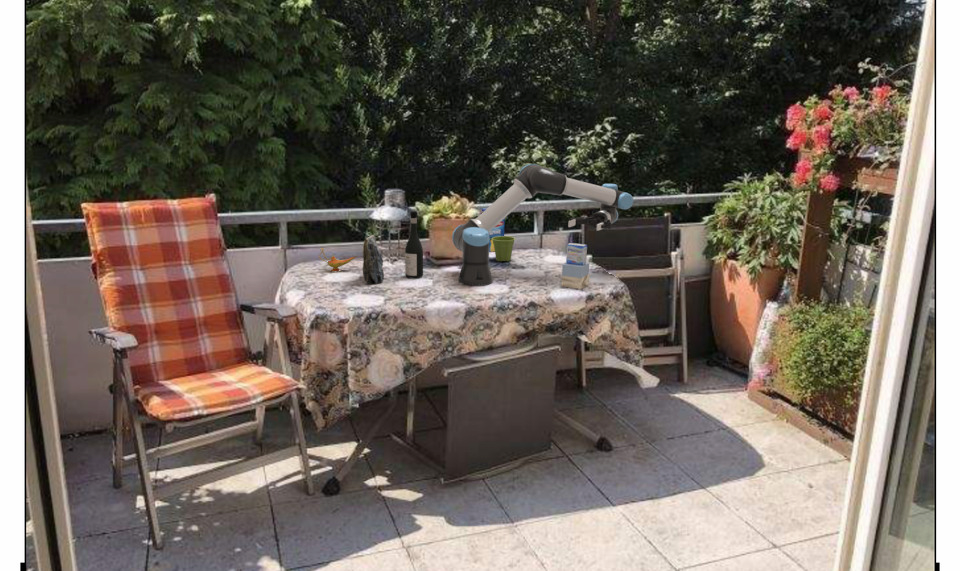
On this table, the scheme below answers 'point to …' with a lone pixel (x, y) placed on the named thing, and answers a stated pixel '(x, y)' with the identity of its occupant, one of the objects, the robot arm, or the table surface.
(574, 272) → the tower top block
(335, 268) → the magic lamp
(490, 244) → the beverage box
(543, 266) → the table surface
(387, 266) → the table surface
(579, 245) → the medicine box
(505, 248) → the plant pot
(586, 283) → the tower base block
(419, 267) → the wine bottle
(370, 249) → the stone block
